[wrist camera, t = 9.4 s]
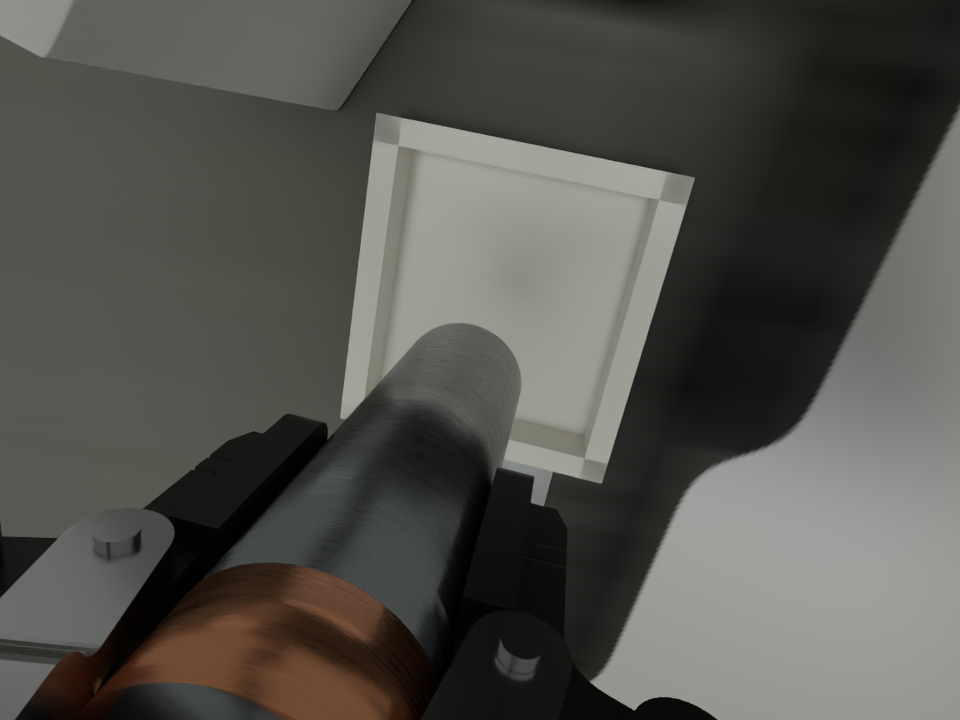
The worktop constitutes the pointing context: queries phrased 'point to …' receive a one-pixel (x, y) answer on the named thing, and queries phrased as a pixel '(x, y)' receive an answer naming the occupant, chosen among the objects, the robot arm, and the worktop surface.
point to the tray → (516, 274)
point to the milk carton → (215, 41)
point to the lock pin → (344, 560)
